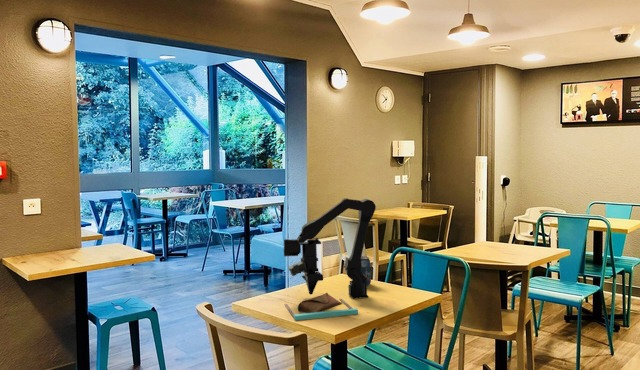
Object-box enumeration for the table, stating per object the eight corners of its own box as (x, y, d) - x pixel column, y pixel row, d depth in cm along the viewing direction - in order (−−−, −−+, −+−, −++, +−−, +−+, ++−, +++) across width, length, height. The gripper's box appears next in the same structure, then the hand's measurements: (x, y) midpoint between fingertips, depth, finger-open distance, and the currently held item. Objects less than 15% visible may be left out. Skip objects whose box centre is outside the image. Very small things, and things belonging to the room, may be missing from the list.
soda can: (370, 286, 230) (369, 259, 230) (354, 286, 232) (353, 259, 231) (371, 283, 237) (371, 256, 236) (356, 282, 238) (355, 256, 238)
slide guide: (342, 299, 211) (341, 295, 211) (358, 313, 191) (358, 309, 191) (284, 305, 206) (284, 301, 206) (295, 320, 186) (295, 316, 186)
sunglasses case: (315, 314, 192) (308, 297, 193) (302, 321, 195) (295, 305, 197) (343, 302, 206) (336, 287, 208) (331, 309, 210) (323, 294, 212)
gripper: (285, 252, 220) (286, 290, 220) (294, 261, 201) (295, 302, 202) (311, 251, 222) (312, 288, 223) (322, 259, 204) (324, 299, 205)
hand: (310, 294), depth 213 cm, fingers closed
